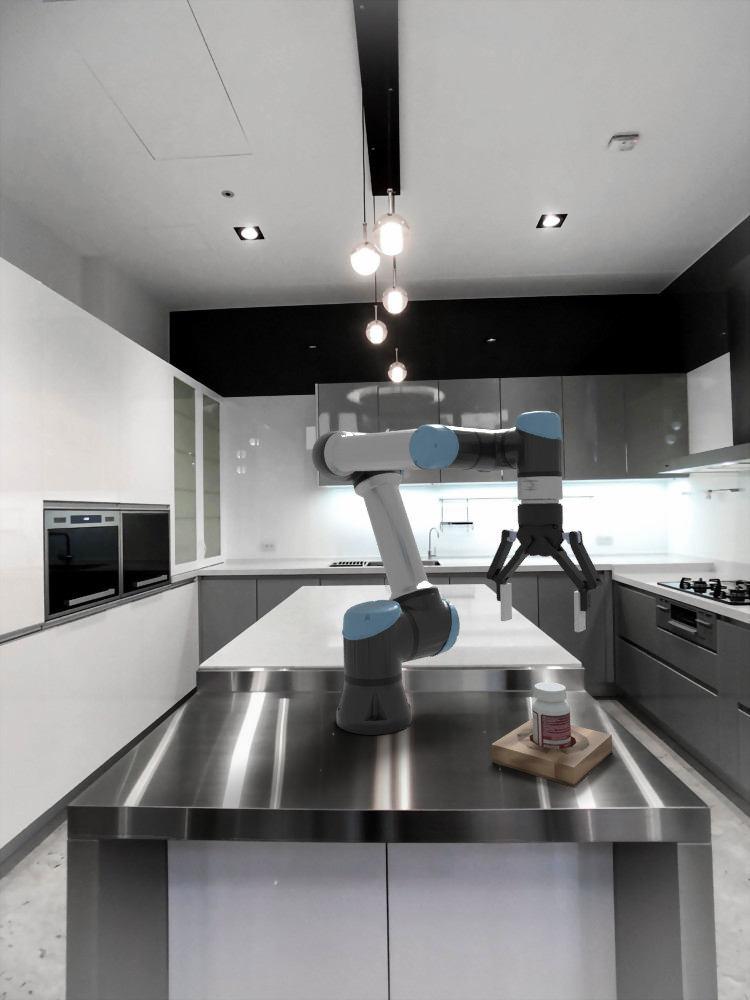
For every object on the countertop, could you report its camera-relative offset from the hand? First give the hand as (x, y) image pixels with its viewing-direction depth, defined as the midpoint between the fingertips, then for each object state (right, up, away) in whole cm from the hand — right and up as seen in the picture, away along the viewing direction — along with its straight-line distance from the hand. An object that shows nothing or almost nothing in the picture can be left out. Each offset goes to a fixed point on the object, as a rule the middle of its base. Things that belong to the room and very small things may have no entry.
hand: (541, 625), depth 99 cm
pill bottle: (+1, -21, -2) cm, 22 cm away
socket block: (+1, -22, -2) cm, 22 cm away
